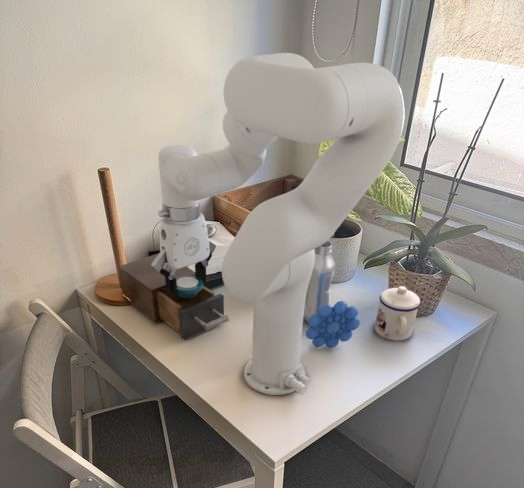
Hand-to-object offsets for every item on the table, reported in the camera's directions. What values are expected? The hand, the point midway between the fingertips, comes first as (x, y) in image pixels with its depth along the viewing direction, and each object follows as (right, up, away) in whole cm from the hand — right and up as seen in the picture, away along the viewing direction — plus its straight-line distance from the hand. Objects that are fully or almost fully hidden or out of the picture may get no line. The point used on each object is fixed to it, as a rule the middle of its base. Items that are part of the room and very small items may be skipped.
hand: (186, 286), depth 115 cm
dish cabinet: (-8, -2, +13) cm, 15 cm away
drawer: (+1, -8, +4) cm, 9 cm away
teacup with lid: (+48, -11, +5) cm, 49 cm away
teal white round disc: (0, -1, +1) cm, 2 cm away
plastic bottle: (+30, -7, +9) cm, 32 cm away
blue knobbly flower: (+32, -13, +1) cm, 35 cm away
